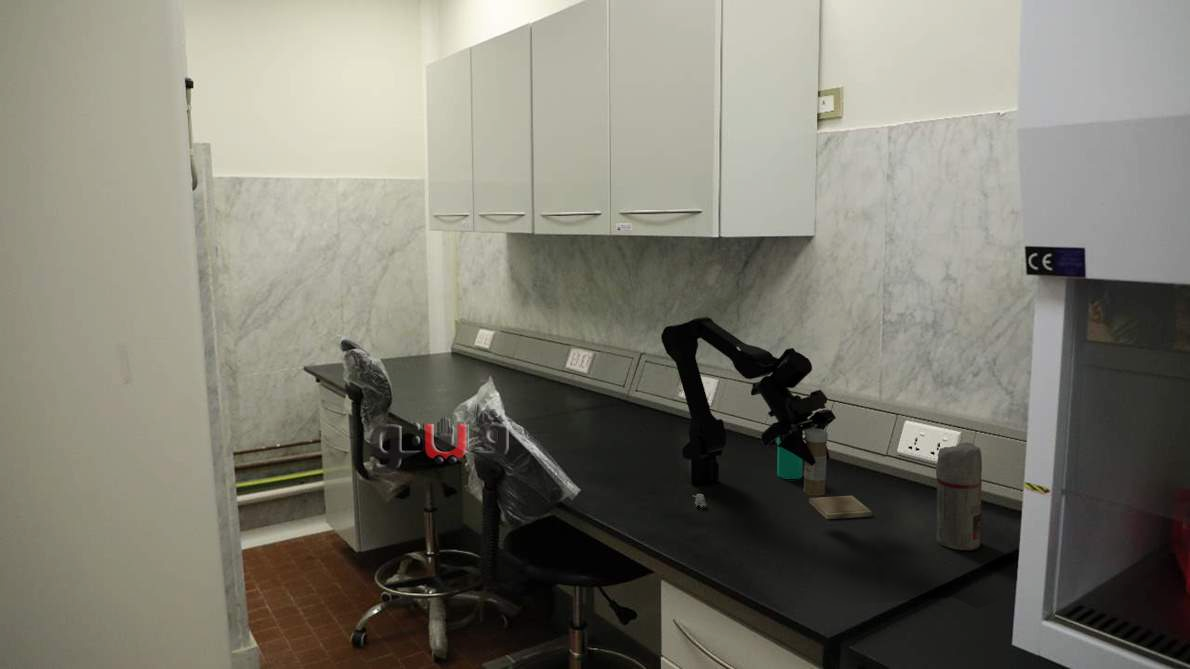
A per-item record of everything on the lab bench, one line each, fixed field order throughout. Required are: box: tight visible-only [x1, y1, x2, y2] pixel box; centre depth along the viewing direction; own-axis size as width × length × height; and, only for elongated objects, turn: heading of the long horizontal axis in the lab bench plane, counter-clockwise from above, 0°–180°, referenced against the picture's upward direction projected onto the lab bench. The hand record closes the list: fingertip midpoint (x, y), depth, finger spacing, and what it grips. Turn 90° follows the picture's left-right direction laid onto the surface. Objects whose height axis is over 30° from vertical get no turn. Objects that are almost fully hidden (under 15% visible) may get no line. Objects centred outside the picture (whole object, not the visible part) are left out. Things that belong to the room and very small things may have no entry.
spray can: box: [935, 442, 983, 551], centre depth 156 cm, size 8×8×20 cm
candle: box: [776, 437, 803, 480], centre depth 198 cm, size 6×6×12 cm
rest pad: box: [808, 495, 873, 520], centre depth 177 cm, size 10×10×1 cm
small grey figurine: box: [692, 493, 707, 509], centre depth 180 cm, size 3×3×3 cm
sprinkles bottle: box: [802, 429, 829, 496], centre depth 169 cm, size 5×5×13 cm
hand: (821, 461), depth 168 cm, fingers closed on sprinkles bottle, 4 cm apart
